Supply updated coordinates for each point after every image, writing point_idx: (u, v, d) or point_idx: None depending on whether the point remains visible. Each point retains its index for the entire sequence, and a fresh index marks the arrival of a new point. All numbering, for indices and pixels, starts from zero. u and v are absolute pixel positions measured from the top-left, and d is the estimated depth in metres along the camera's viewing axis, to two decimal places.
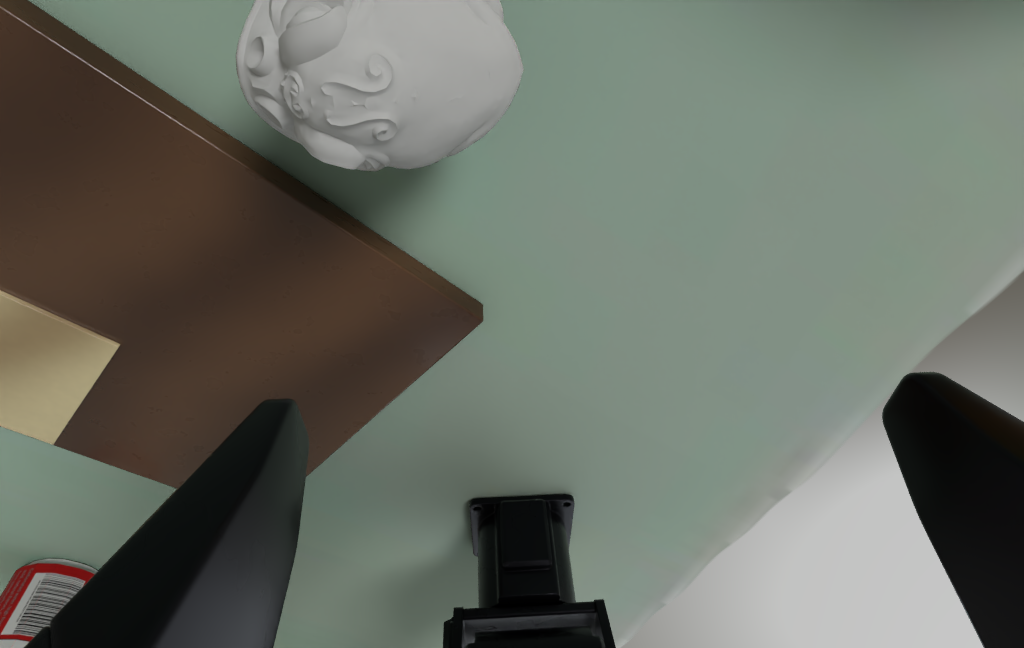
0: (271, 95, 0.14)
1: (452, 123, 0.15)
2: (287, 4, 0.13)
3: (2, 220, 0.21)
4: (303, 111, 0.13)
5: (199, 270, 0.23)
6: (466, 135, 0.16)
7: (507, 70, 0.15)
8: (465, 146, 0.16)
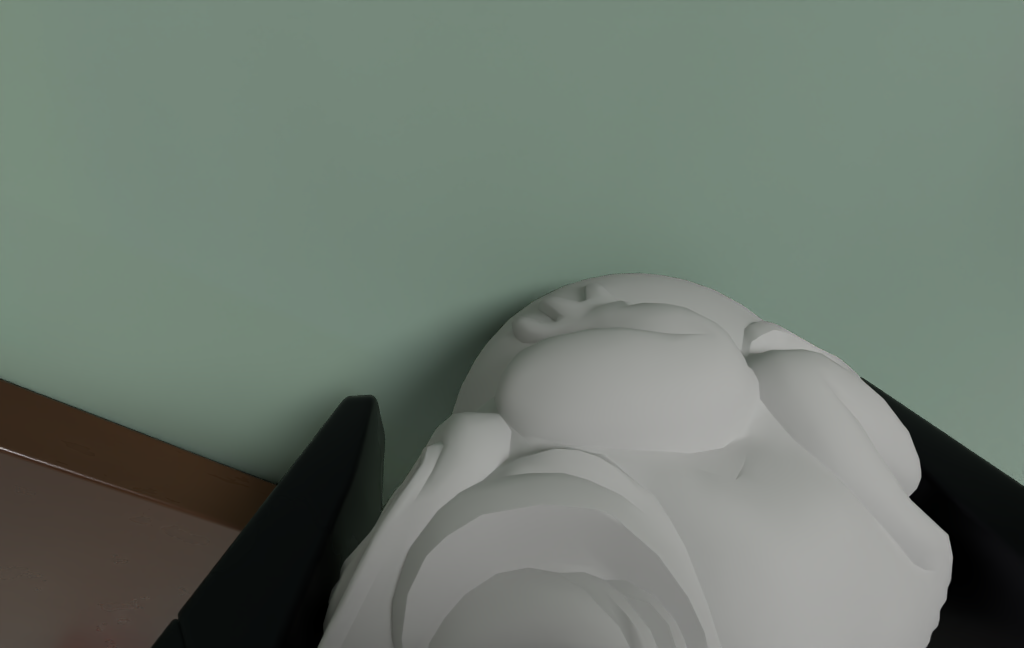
0: None
1: None
2: (452, 647, 0.04)
3: None
4: None
5: None
6: None
7: None
8: None
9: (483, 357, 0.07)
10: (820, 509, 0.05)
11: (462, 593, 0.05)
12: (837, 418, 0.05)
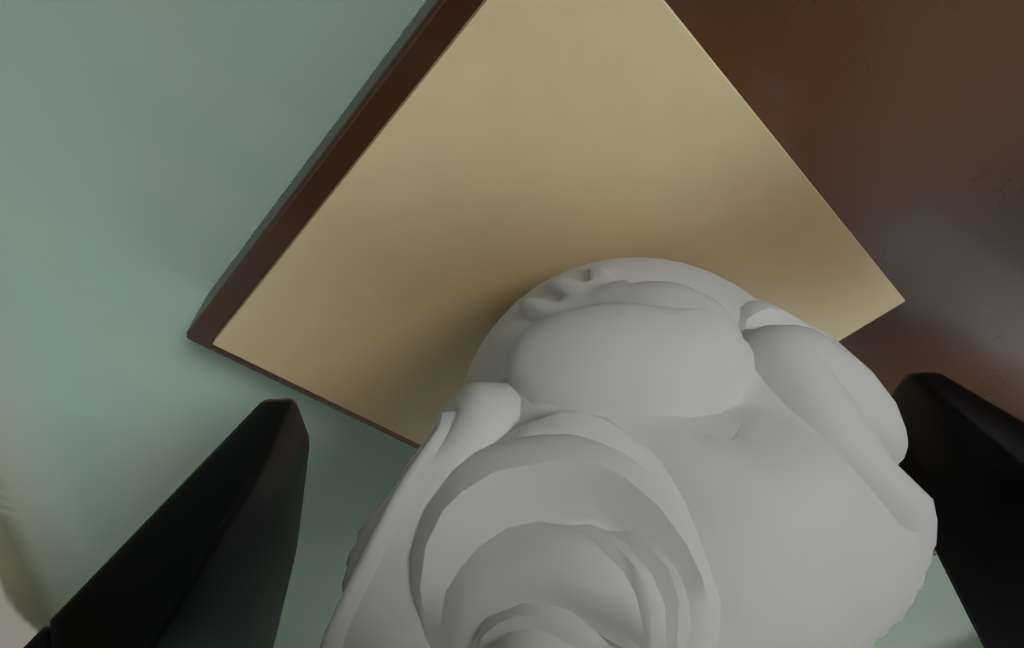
0: None
1: None
2: (468, 593, 0.05)
3: None
4: None
5: None
6: None
7: None
8: None
9: (491, 336, 0.08)
10: (811, 466, 0.05)
11: (477, 544, 0.05)
12: (828, 386, 0.06)
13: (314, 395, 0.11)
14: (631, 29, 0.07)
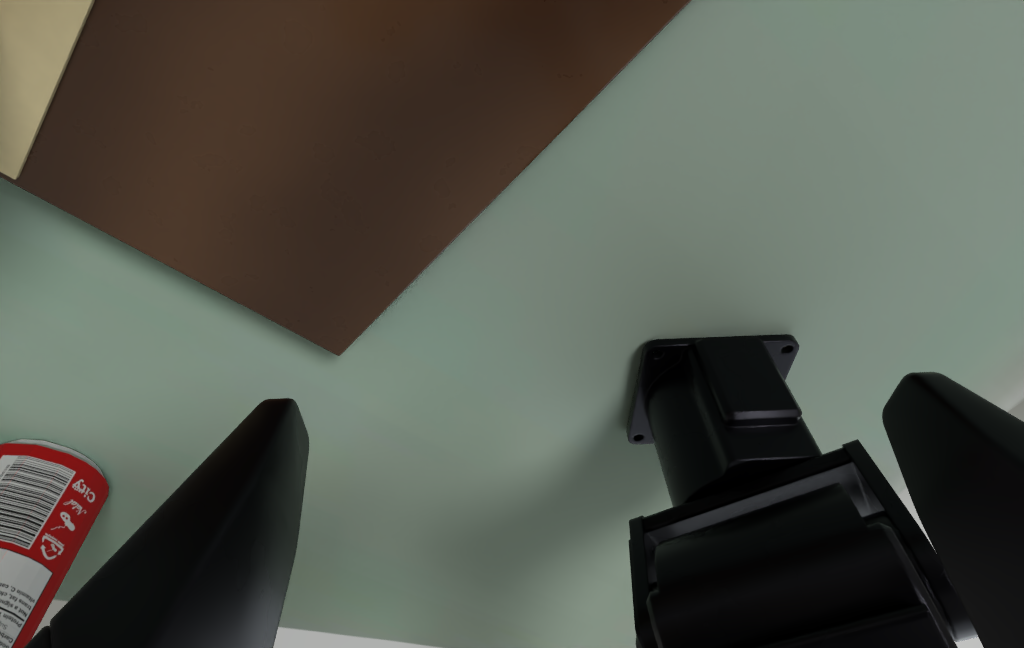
0: None
1: None
2: None
3: None
4: None
5: None
6: None
7: None
8: None
9: None
10: None
11: None
12: None
13: None
14: None
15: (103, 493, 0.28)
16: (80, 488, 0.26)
